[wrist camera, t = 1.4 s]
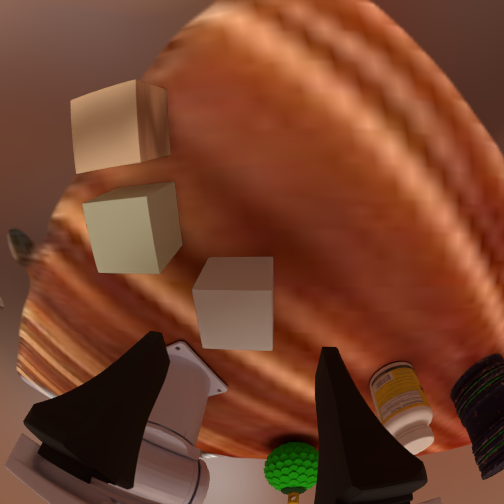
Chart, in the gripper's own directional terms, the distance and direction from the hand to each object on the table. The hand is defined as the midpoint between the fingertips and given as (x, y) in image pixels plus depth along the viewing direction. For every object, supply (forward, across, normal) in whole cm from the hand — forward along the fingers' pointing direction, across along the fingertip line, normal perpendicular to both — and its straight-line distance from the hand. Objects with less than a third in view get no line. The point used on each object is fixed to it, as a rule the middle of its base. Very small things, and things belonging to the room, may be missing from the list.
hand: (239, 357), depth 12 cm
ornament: (+9, -5, +30) cm, 32 cm away
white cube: (+10, +2, +3) cm, 11 cm away
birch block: (+11, +9, -10) cm, 17 cm away
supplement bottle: (+10, -15, +15) cm, 23 cm away
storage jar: (+11, -31, +19) cm, 38 cm away
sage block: (+10, +9, -3) cm, 14 cm away
